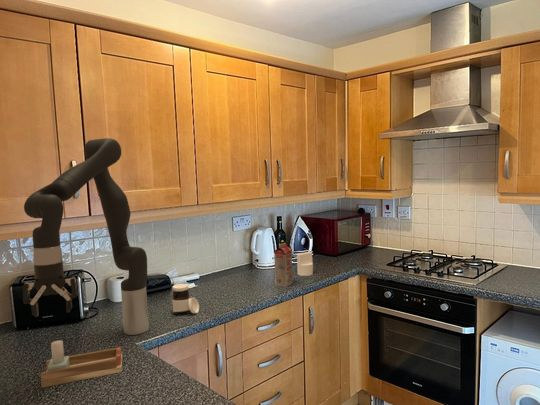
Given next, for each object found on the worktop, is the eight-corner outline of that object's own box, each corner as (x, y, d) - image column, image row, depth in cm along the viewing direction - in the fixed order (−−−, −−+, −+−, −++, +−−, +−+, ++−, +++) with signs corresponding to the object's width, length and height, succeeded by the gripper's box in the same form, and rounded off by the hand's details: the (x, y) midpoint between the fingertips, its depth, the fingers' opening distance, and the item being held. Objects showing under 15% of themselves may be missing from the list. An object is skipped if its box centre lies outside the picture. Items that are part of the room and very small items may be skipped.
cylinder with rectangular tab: (306, 270, 232) (306, 251, 231) (316, 274, 225) (315, 253, 224) (294, 273, 228) (293, 253, 227) (303, 276, 220) (302, 255, 219)
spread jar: (172, 308, 176) (171, 283, 175) (198, 305, 179) (196, 281, 178) (173, 318, 164) (171, 291, 163) (200, 315, 167) (198, 288, 166)
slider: (51, 368, 122) (49, 340, 121) (69, 364, 123) (67, 337, 123) (48, 377, 116) (45, 348, 115) (66, 373, 118) (64, 345, 117)
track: (48, 371, 123) (47, 357, 123) (122, 357, 131) (121, 344, 130) (41, 387, 114) (40, 373, 114) (121, 371, 121) (120, 358, 121)
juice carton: (275, 285, 206) (274, 244, 204) (282, 281, 211) (280, 242, 209) (286, 287, 202) (284, 245, 200) (292, 283, 208) (291, 243, 206)
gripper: (76, 256, 122) (80, 306, 123) (24, 261, 117) (28, 313, 119) (72, 261, 115) (76, 314, 116) (17, 266, 110) (22, 322, 112)
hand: (52, 313), depth 117 cm, fingers open, 8 cm apart
